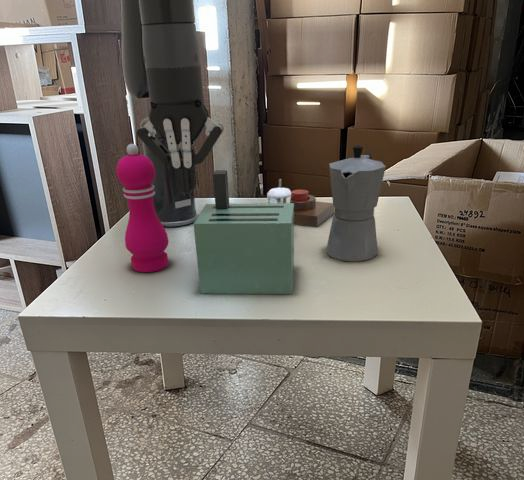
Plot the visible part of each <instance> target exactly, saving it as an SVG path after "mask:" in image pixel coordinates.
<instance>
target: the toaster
mask: <svg viewBox="0 0 524 480" xmlns="http://www.w3.org/2000/svg"><path fill="white" fill-rule="evenodd" d="M192 225H193V232H194V233H193V234H194V242H195V252H196V261H197V262H196V263H197V271H198V280H199V290H200V294H204V295H205V294H207V295H208V294H211V295H213V294H217V295H223V294H227V295H230V294H231V295H232V294H233V295H234V294H235V295H293V285H294V275H295V224H294V203H268V202H265V203H257V202H256V203H229V206H228V208H227V209H216V207H215V203H205V205H204V206H203V208H202V210H201V211H200V212H199V214H198V215H197V219H196V220H195V222H193V224H192Z"/></svg>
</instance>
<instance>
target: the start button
mask: <svg viewBox="0 0 524 480" xmlns="http://www.w3.org/2000/svg"><path fill="white" fill-rule="evenodd" d="M308 195H310V194H309V191H308V190H306V189H294V190H291V200H293V201H305V200H308Z"/></svg>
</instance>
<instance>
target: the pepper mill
mask: <svg viewBox="0 0 524 480" xmlns="http://www.w3.org/2000/svg"><path fill="white" fill-rule="evenodd" d="M126 153H127V155H124V156H123V157H121V158H120V159H119V160H118V162H117V164H116V167H115V168H116V169H115V171H116V177H117V179H118V181H119V182H120V183H121V184H122V185H123V186H124V187H122V192H123V197H124V199H126V200H127V203H128V210H129V215H128V222H127V225H126V229H125V233H124V242H125V245H124V246H125V248H126V249H127V251H128V252H129V253H130V254H131V255H132V256H131V257H130V261H131V268H132V269H133V270H134V271H135V272H139V273H154V272H158V271H162V270H164V269H166V268H167V267H168V266H169V263H170V262H169V255H168V253H167V252H166V249H167V248H168V246H169V241H170V240H169V237H168V233H167V231H166V228H165V226H163V225H162V224H161V222H160V221H159V219H158V217H157V215H156V212H155V209H154V204H153V195H154V194H155V191H154V185H152V181H153V180H154V178H155V167H154V165H153V163H152V161H151V160H150V159H149V158H148V157H146V156H144V154H140V153H139V147H138V146H137V144H134V143H129V144H128V145H127V146H126Z"/></svg>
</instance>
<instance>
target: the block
mask: <svg viewBox="0 0 524 480" xmlns="http://www.w3.org/2000/svg"><path fill="white" fill-rule="evenodd" d="M291 203H294V225H299V226H305V227H315V228H318V227H319V226H320V225H322V224H323V223H324V222H326V221H327V220H328V219H329V218H331V216H332V217H333V216H334V212H335V207H334V205H333V202H325V201H324V202H323V201H317V198H316V196H315V195H312V194H309V195H308V200H305V201H293V200H291Z"/></svg>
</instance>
